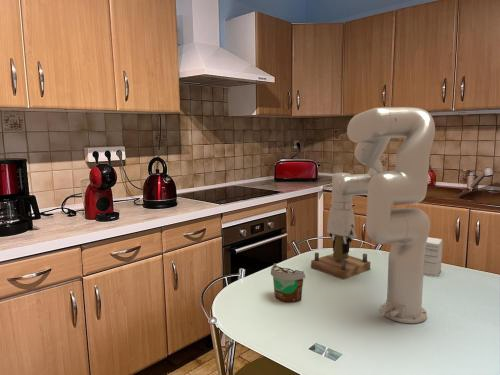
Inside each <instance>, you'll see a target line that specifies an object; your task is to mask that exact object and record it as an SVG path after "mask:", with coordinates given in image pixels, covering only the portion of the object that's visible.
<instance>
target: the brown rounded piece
mask: <svg viewBox="0 0 500 375" xmlns="http://www.w3.org/2000/svg"><path fill="white" fill-rule="evenodd" d="M334 235H335V234H334ZM335 237H336V239H335V246H334V251H333V253H332V254H333V258H335V259H341V260H343V259H348V258H349V257H348V255H349V253H346V254H343V249H342V248H343V244H344V239H343V236H339V235H335Z"/></svg>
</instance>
